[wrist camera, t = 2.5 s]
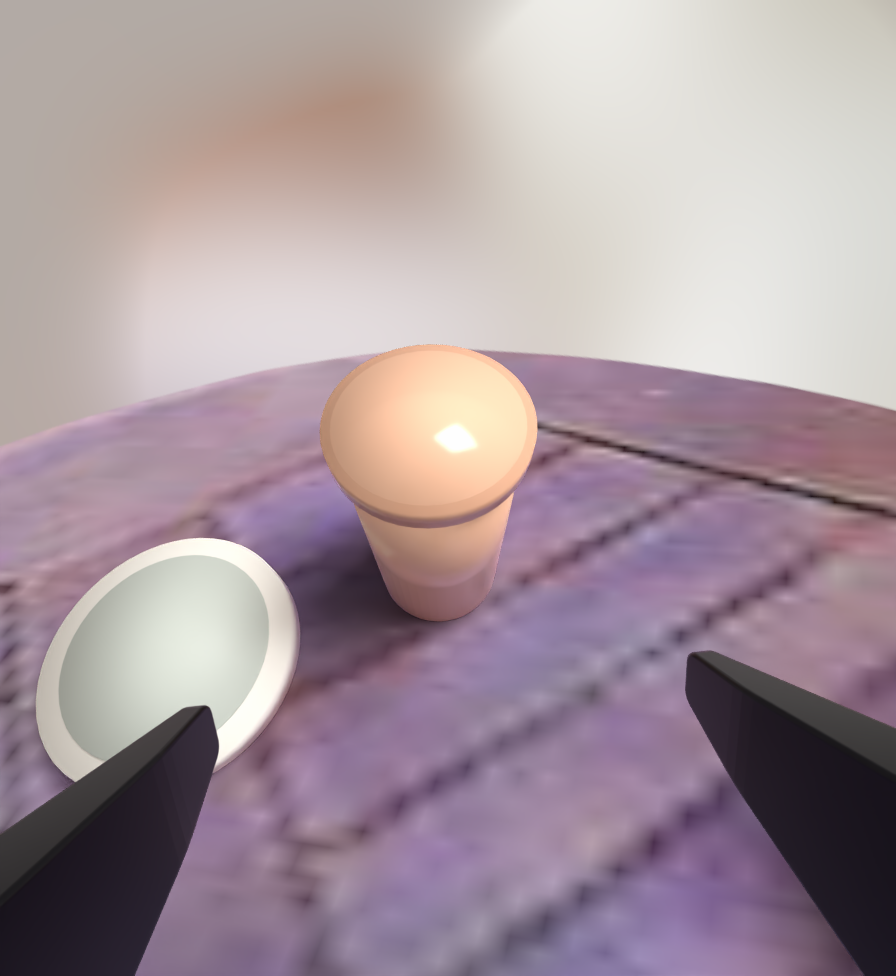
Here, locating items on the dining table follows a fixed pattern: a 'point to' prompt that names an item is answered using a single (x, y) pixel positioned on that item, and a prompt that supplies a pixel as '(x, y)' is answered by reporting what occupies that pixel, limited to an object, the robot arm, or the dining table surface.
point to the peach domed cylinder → (431, 469)
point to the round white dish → (169, 653)
